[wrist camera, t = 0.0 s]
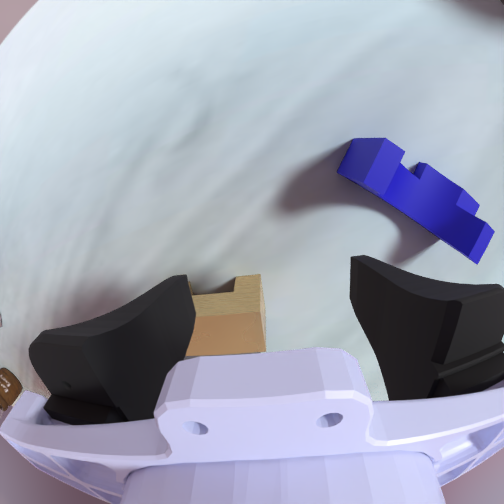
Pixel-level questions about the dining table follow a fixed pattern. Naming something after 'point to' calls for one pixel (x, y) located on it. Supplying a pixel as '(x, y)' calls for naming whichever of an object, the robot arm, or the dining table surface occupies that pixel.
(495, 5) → the dining table surface
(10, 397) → the utensil holder
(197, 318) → the wooden toy block
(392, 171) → the cable clip
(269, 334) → the dining table surface
